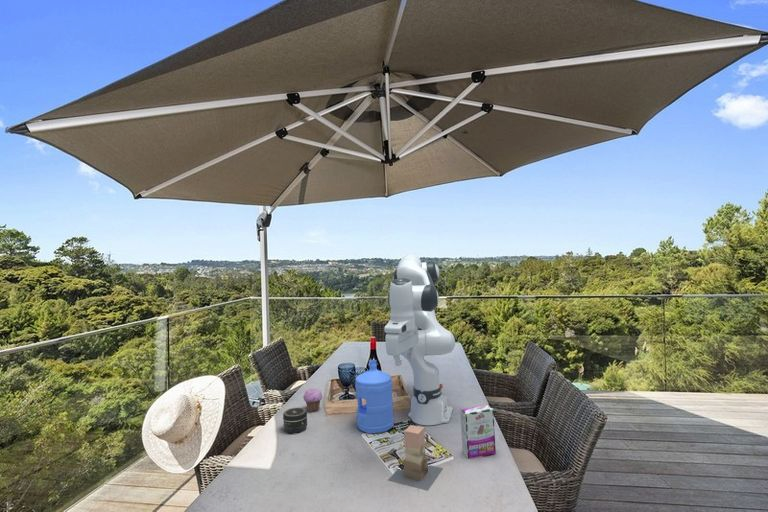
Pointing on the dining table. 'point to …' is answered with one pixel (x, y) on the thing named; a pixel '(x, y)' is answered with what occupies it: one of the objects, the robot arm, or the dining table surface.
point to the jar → (295, 420)
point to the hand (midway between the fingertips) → (404, 361)
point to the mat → (423, 484)
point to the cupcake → (313, 399)
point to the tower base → (416, 469)
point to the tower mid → (415, 454)
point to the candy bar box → (478, 431)
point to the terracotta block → (414, 436)
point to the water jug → (374, 400)
